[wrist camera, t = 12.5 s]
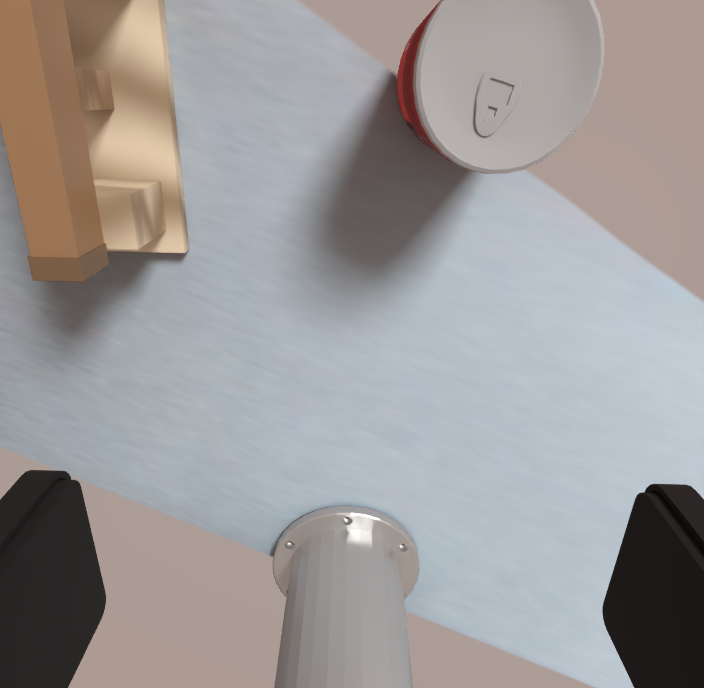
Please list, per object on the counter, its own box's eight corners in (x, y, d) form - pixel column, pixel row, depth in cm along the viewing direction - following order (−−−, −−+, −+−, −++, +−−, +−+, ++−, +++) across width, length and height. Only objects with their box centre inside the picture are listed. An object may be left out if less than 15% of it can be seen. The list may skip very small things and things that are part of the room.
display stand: (189, 249, 36) (159, 276, 31) (68, 246, 36) (17, 272, 30) (152, -110, 28) (103, -160, 23) (-3, -115, 28) (-89, -166, 23)
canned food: (392, 151, 33) (409, 175, 23) (399, -1, 30) (421, -49, 20) (516, 153, 33) (585, 177, 23) (536, 1, 30) (627, -46, 20)
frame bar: (-22, -153, 23) (-76, -187, 20) (40, -151, 23) (-5, -186, 20) (62, 263, 30) (33, 280, 27) (109, 264, 30) (84, 281, 27)
